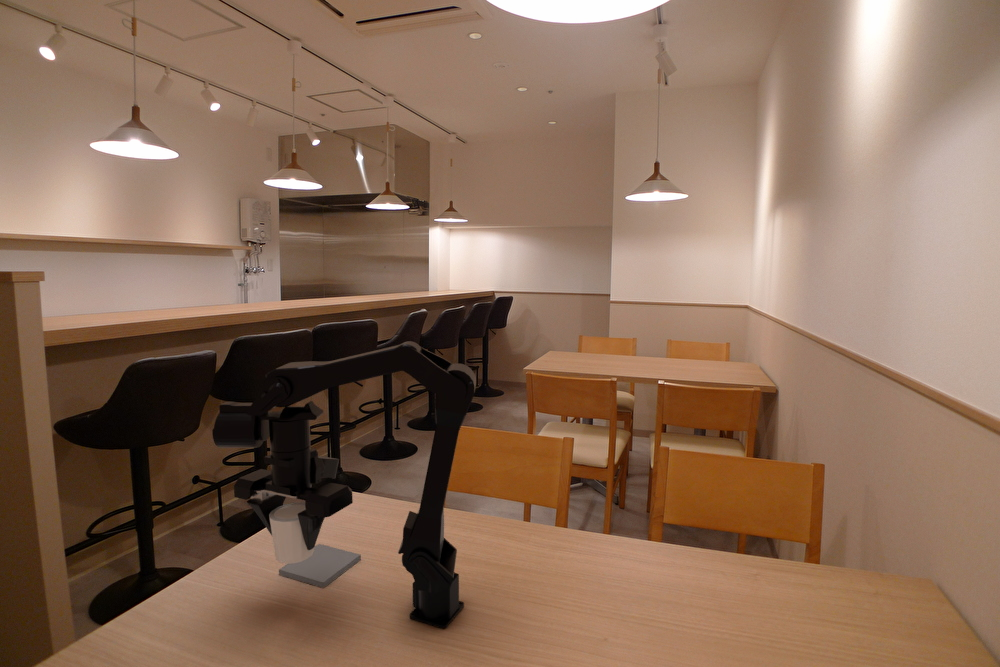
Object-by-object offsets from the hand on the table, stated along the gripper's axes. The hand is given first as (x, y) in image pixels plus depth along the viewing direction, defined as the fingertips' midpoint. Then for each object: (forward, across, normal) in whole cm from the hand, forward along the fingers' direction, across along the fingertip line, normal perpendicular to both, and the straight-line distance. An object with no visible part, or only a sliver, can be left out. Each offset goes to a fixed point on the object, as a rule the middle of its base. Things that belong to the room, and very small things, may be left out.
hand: (294, 544), depth 83 cm
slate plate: (+11, +6, -12) cm, 18 cm away
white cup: (+2, 0, 0) cm, 2 cm away
